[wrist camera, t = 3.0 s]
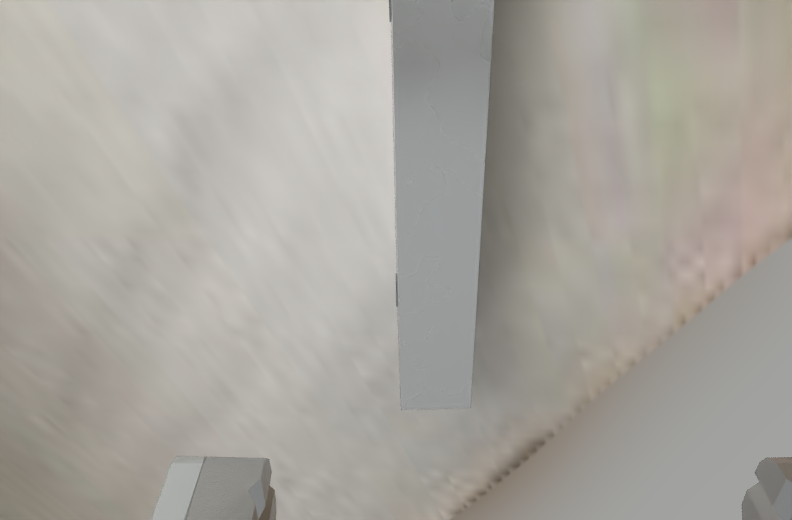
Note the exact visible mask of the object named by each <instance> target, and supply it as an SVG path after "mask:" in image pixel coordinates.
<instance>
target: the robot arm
mask: <svg viewBox="0 0 792 520" xmlns="http://www.w3.org/2000/svg"><path fill="white" fill-rule="evenodd" d="M271 473H272V471H271V466H270V461H269V459H267V458H236V457H181V456H177V457H176V459H175V460H174V461H173V463H172V464H171V466H170V469H169V471H168V474H167V477H166V480H165V483H164V485H163V488H162V491H161V494H160V497H159V499H158V502H157V505H156V508H155V510H154V513H153V516H152V519H151V520H276V497H275V490H274V489H273V488H271V487H270V486H269V484H270V479H271ZM755 474H756V476H757V478H758V480H759V481H760V482H759V483H757V484H756V485H754V486H753V487H751V488H750V489H748V490H747V492H746V494H745V497H744V500H743V502H742V520H792V457H791V458H789V457H788V458H785V457H784V458H765V459H764V460H762V461H761V462H760V463H759V465H758V467H757V469H756V472H755Z"/></svg>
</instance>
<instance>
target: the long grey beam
mask: <svg viewBox="0 0 792 520" xmlns="http://www.w3.org/2000/svg"><path fill="white" fill-rule="evenodd" d="M494 2H495V0H389V15H390V22H391V55H392V99H393V142H394V186H395V229H396V272H397V273H396V305H397V316H398V346H399V372H400V398H401V410H413V409H446V408H471V392H472V375H473V358H474V341H475V324H476V307H477V290H478V273H479V256H480V239H481V222H482V205H483V189H484V172H485V155H486V138H487V121H488V104H489V87H490V70H491V53H492V36H493V19H494Z"/></svg>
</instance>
